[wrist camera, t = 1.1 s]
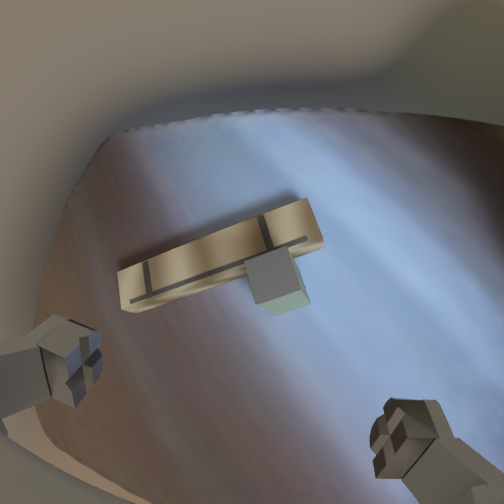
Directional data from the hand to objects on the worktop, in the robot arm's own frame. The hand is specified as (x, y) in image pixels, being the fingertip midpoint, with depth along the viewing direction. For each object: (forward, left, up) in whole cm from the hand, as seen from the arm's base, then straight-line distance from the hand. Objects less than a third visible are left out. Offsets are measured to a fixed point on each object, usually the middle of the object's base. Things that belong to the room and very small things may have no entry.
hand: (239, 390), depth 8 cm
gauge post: (+1, -9, -26) cm, 28 cm away
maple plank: (+8, -15, -26) cm, 31 cm away
